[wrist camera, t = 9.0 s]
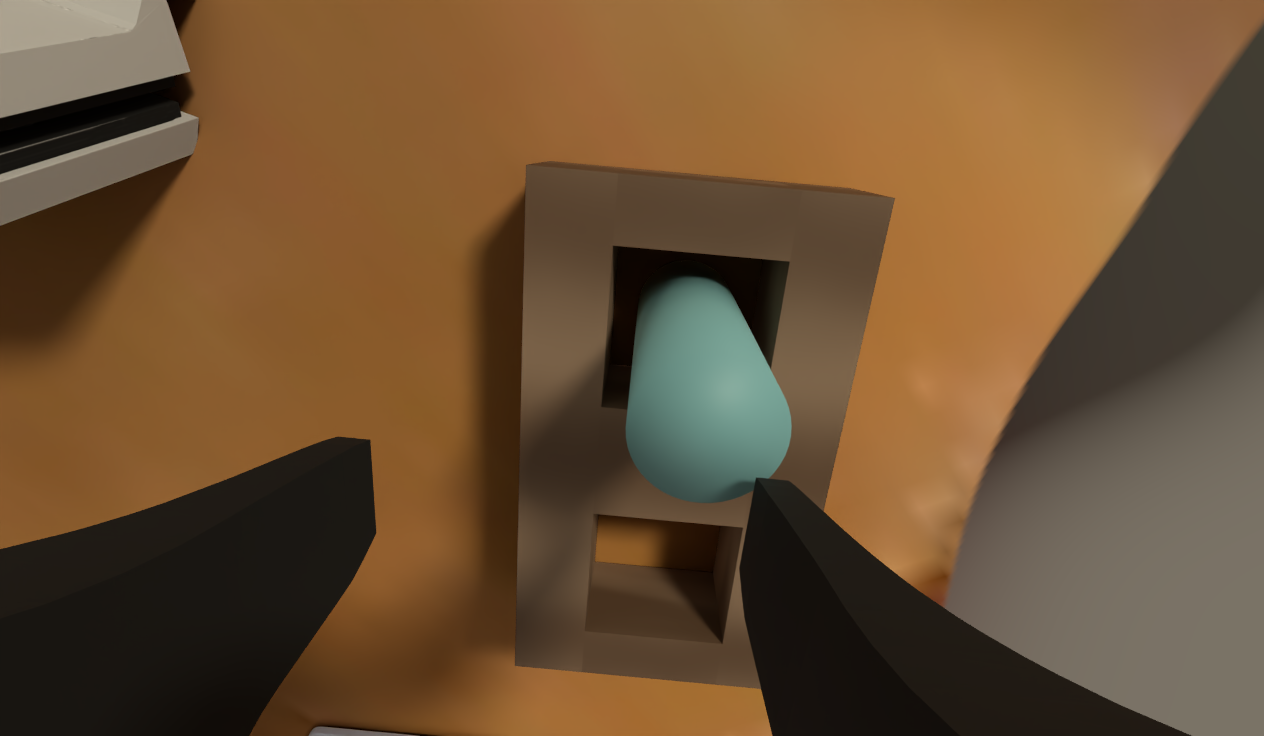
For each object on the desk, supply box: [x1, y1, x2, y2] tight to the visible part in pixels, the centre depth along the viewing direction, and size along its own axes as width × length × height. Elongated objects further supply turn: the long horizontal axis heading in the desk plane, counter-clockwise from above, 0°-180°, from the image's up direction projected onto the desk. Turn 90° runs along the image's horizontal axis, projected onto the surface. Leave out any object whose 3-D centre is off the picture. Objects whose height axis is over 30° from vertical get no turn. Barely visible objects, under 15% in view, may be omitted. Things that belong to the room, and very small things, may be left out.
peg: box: [626, 260, 792, 503], centre depth 15 cm, size 3×3×9 cm
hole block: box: [515, 161, 895, 689], centre depth 19 cm, size 16×9×4 cm, turn 175°
